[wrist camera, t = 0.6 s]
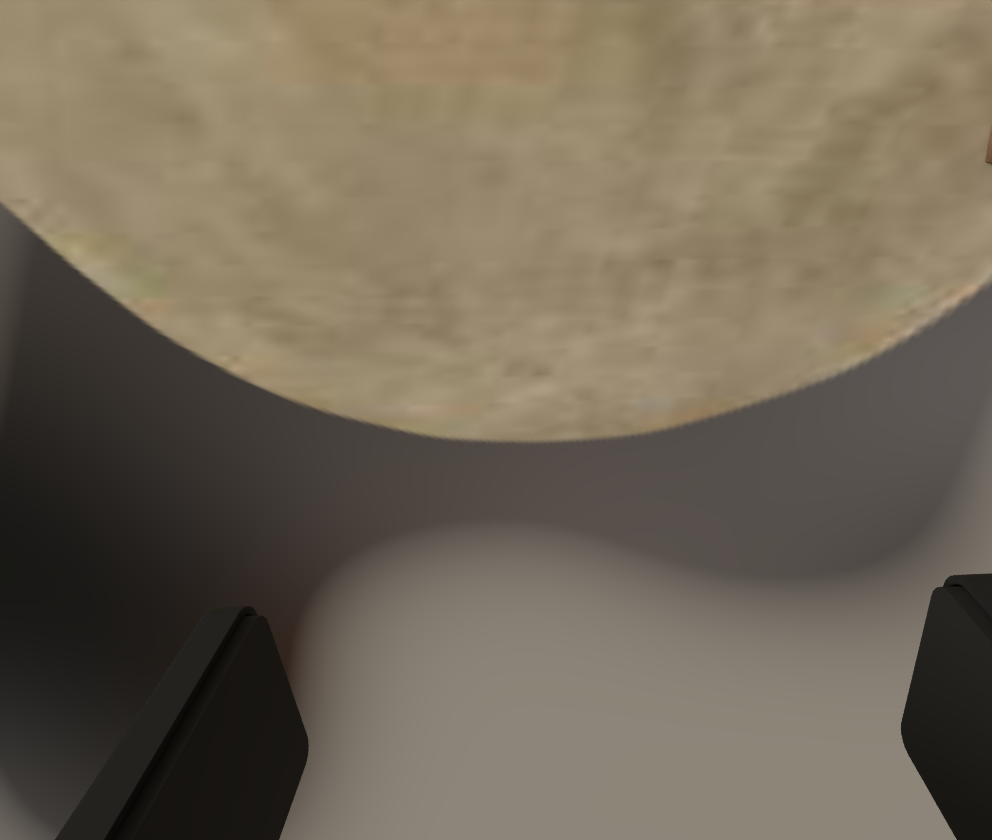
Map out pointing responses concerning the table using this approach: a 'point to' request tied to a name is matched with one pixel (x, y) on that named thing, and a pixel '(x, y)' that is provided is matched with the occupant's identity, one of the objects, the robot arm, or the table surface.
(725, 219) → the table surface
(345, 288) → the table surface
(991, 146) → the plinth
